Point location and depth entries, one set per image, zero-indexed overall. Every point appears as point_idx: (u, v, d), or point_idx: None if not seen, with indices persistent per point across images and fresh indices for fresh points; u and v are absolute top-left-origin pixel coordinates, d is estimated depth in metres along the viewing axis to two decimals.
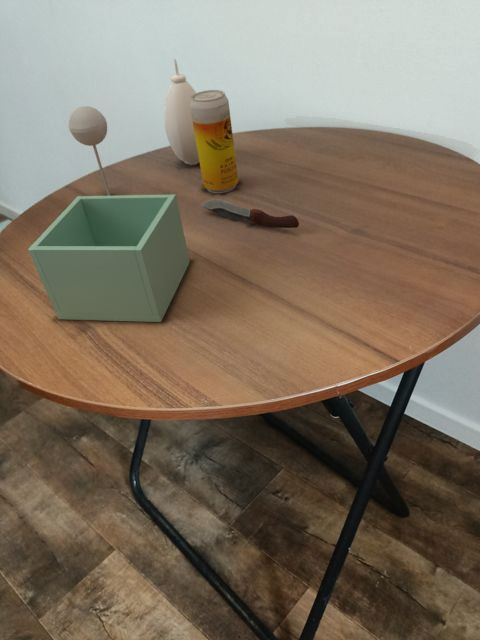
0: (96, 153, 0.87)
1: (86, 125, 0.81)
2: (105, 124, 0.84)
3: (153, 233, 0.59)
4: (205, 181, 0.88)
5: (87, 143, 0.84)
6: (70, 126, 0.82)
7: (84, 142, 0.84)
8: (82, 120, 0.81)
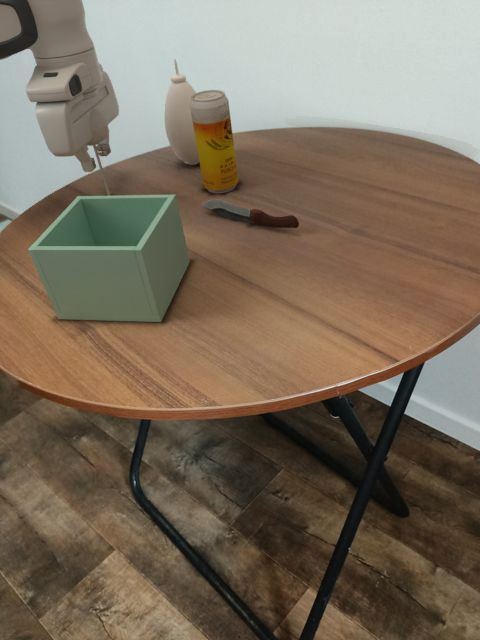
0: (96, 153, 0.87)
1: None
2: (105, 124, 0.84)
3: (153, 233, 0.59)
4: (205, 181, 0.88)
5: None
6: None
7: None
8: None
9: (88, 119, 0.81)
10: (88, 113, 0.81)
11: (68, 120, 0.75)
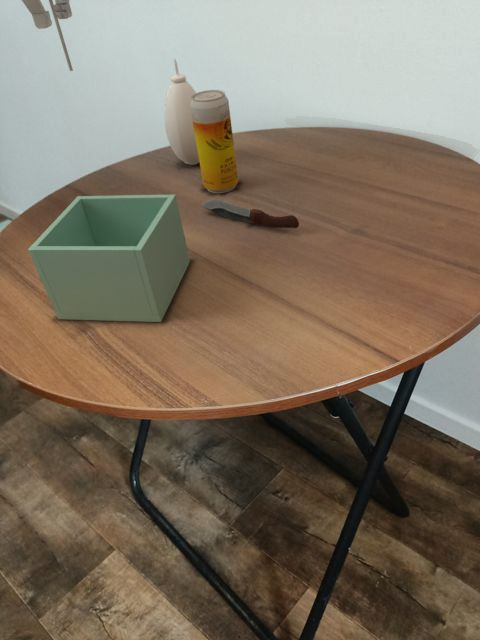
0: (53, 9, 0.72)
1: None
2: None
3: (153, 233, 0.59)
4: (205, 181, 0.88)
5: None
6: None
7: None
8: None
9: None
10: None
11: None
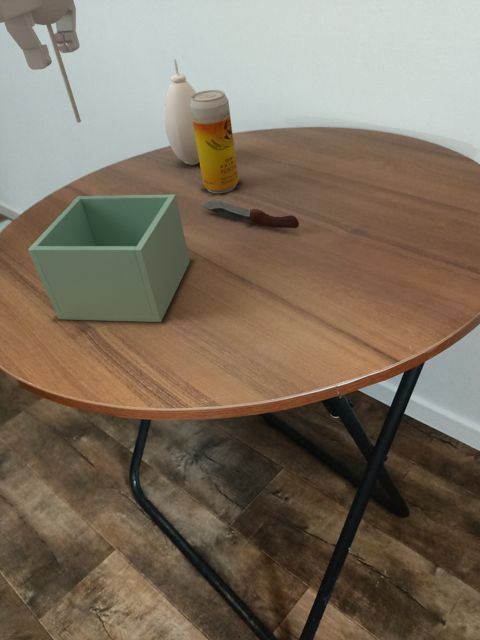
0: (53, 41, 0.51)
1: None
2: None
3: (153, 233, 0.59)
4: (205, 181, 0.88)
5: (35, 17, 0.48)
6: None
7: None
8: None
9: None
10: None
11: None
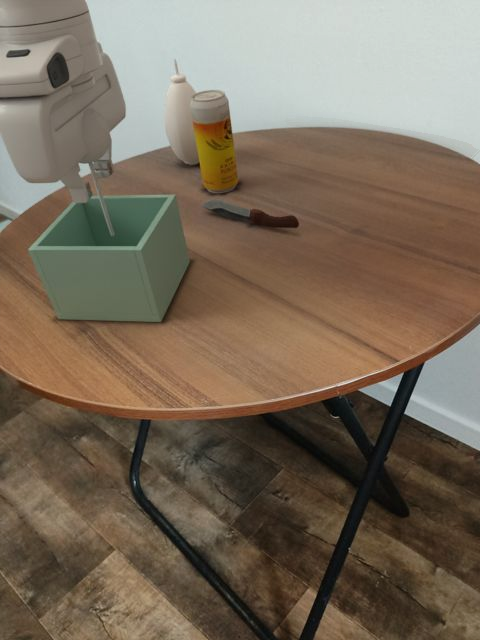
0: (93, 174, 0.59)
1: None
2: (107, 132, 0.55)
3: (153, 233, 0.59)
4: (205, 181, 0.88)
5: (80, 160, 0.56)
6: None
7: None
8: None
9: (80, 124, 0.53)
10: (80, 115, 0.53)
11: (47, 126, 0.46)
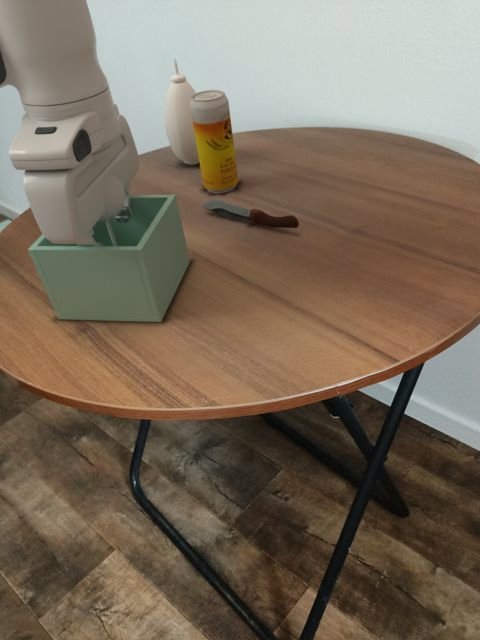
0: (110, 229, 0.63)
1: None
2: (122, 192, 0.60)
3: (153, 233, 0.59)
4: (205, 181, 0.88)
5: None
6: None
7: None
8: None
9: (99, 186, 0.57)
10: (99, 178, 0.57)
11: (72, 196, 0.51)
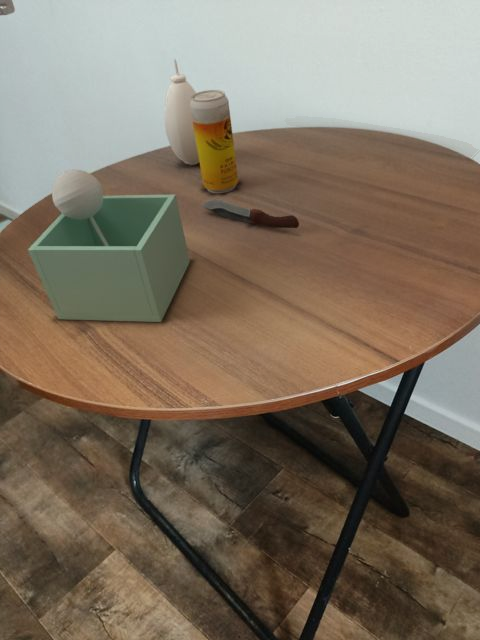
0: (96, 228, 0.65)
1: (70, 189, 0.60)
2: (97, 185, 0.63)
3: (153, 233, 0.59)
4: (205, 181, 0.88)
5: (79, 214, 0.62)
6: (53, 199, 0.62)
7: (75, 214, 0.62)
8: (65, 184, 0.61)
9: None
10: None
11: None
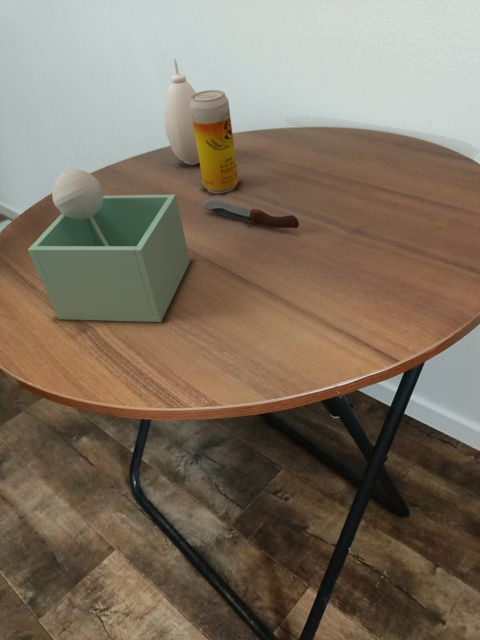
0: (96, 228, 0.65)
1: (70, 189, 0.60)
2: (97, 185, 0.63)
3: (153, 233, 0.59)
4: (205, 181, 0.88)
5: (79, 214, 0.62)
6: (53, 199, 0.62)
7: (75, 214, 0.62)
8: (65, 184, 0.61)
9: None
10: None
11: None
